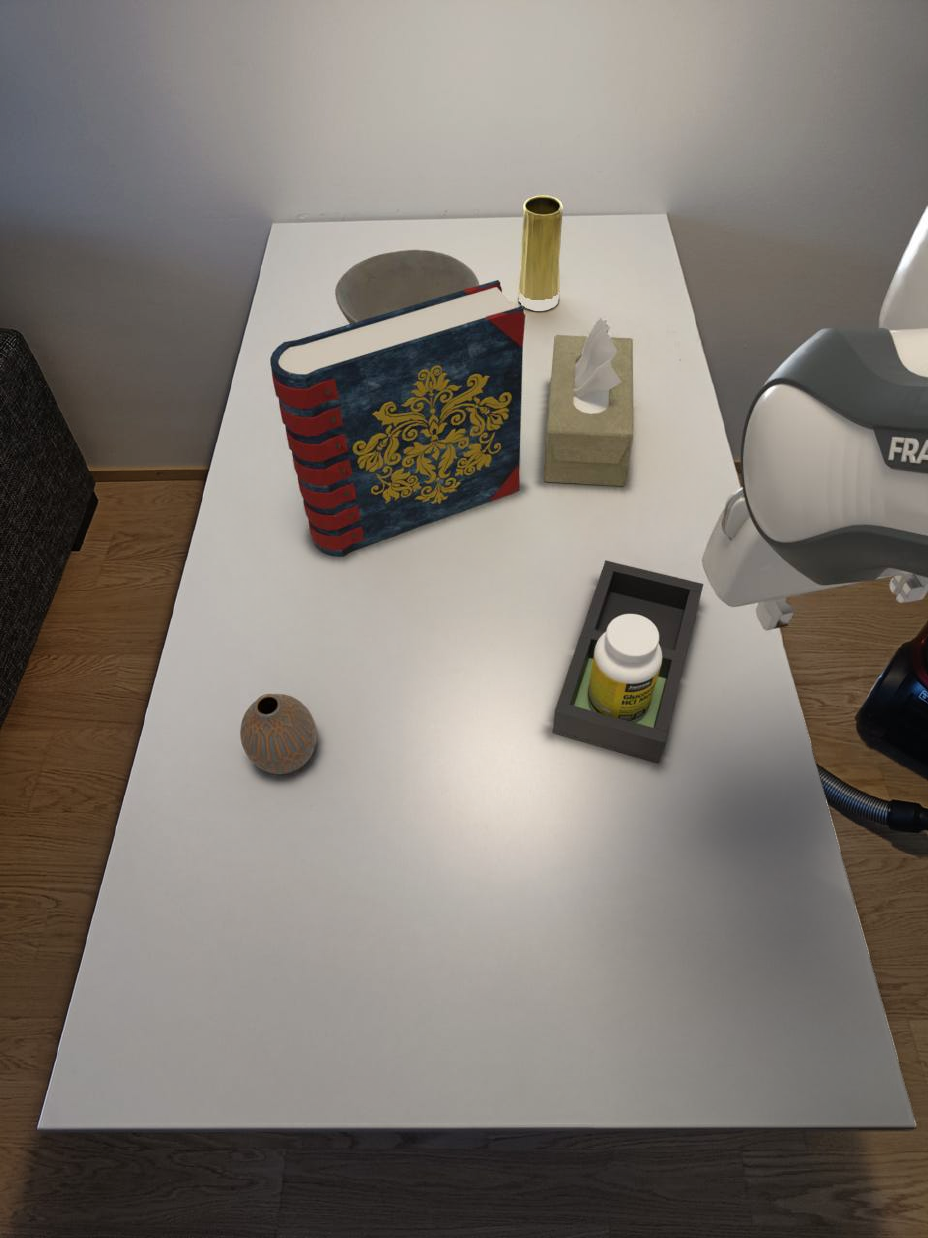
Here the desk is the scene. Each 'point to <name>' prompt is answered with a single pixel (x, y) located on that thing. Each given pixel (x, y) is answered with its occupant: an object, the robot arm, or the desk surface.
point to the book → (404, 415)
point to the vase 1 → (278, 733)
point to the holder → (674, 618)
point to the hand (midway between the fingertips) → (837, 607)
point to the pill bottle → (625, 668)
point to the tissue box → (590, 409)
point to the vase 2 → (540, 248)
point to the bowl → (399, 282)
